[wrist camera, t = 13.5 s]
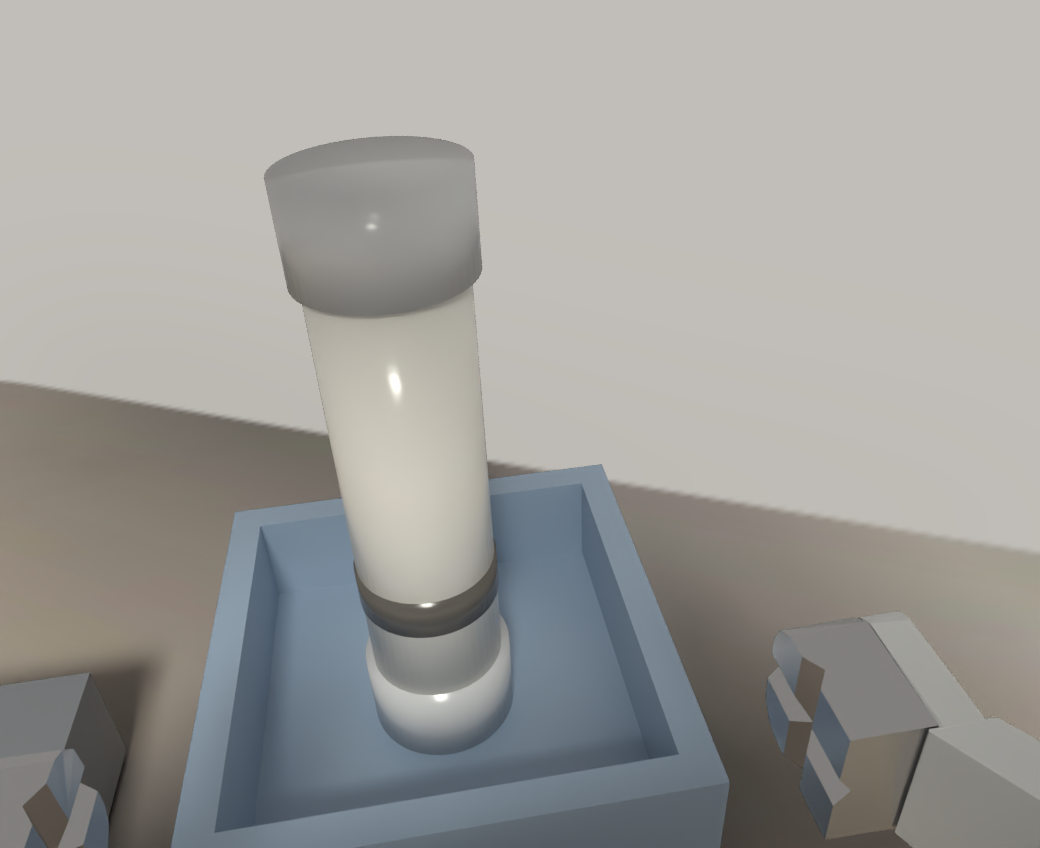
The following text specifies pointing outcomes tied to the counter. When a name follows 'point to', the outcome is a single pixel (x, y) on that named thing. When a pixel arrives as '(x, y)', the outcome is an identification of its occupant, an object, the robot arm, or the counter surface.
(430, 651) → the fuse
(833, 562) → the counter surface
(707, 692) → the counter surface
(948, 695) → the robot arm
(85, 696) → the block
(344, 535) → the parts tray
